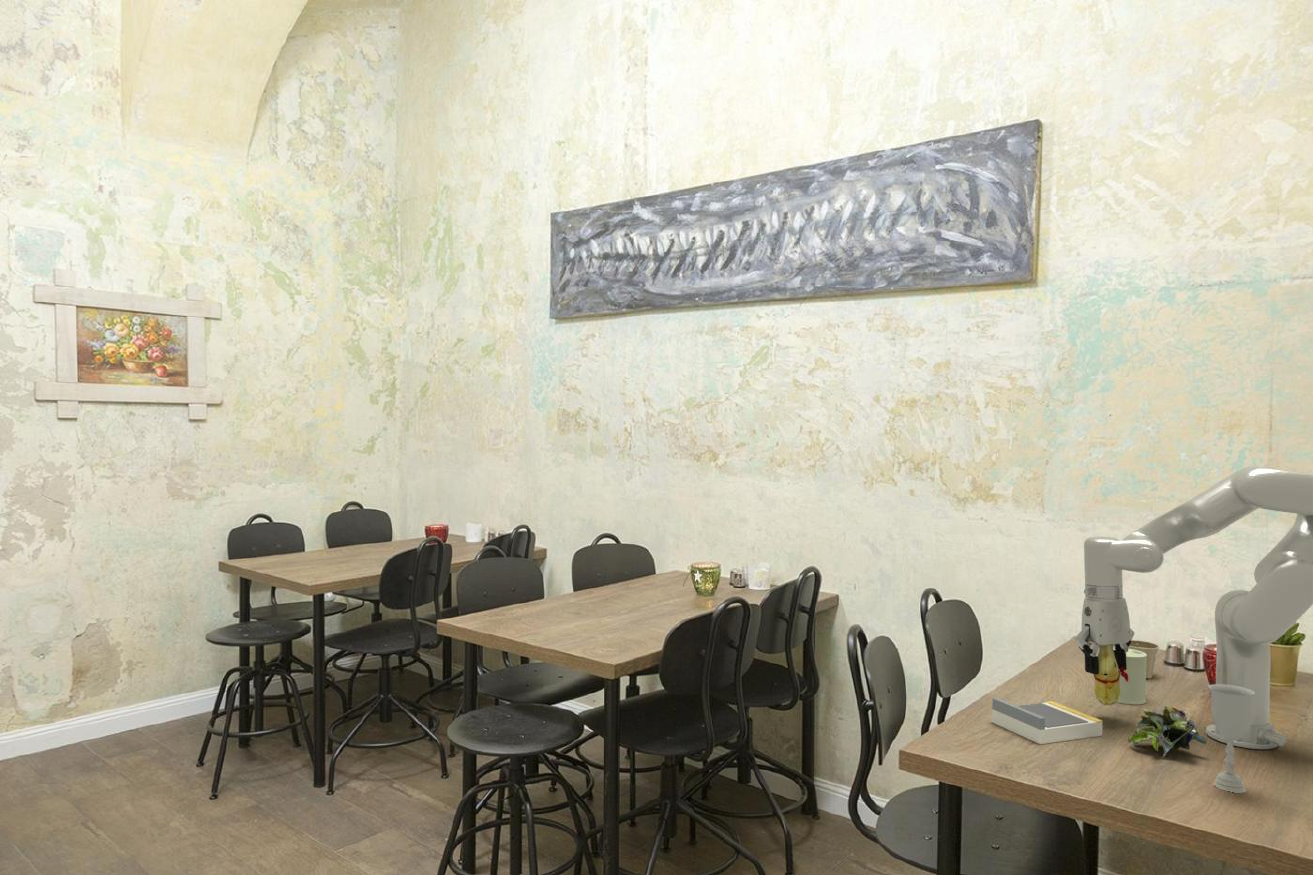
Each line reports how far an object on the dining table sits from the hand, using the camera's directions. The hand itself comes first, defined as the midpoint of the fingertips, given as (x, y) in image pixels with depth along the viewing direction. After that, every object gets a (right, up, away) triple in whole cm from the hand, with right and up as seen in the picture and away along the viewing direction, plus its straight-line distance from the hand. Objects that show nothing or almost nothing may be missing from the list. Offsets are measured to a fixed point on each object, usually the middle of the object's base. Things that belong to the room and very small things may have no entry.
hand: (1105, 670), depth 192 cm
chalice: (+4, -12, -35) cm, 37 cm away
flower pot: (+29, -12, +38) cm, 49 cm away
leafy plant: (+3, -12, -18) cm, 22 cm away
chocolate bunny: (+1, -7, 0) cm, 7 cm away
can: (+14, -12, +18) cm, 25 cm away
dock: (-16, -11, -5) cm, 20 cm away
